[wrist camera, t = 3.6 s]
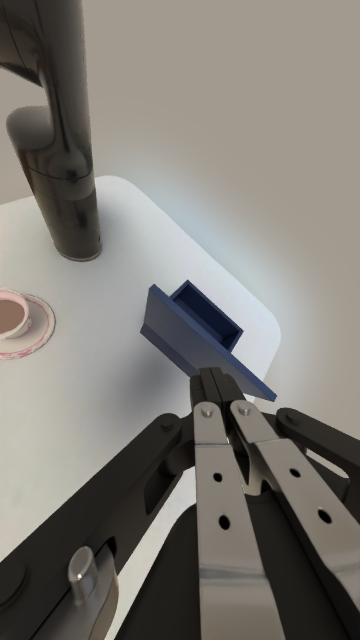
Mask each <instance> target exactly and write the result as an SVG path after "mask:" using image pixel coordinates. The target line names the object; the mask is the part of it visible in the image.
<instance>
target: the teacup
mask: <svg viewBox="0 0 360 640" xmlns="http://www.w3.org/2000/svg"><path fill="white" fill-rule="evenodd" d="M54 326H55V318H54V313H53V312H52V310H51V308H50V307H49V305H48V304H46V303H45V302H44V301H42V300H41V299H39V298H37V297H34V296H31V295H27V294H19V293H18V292H16V291H14V290H12V289H9V288H5V287H0V359H5V360H11V359H15V358H19V357H23V356H26V355H28V354H30V353H32V352H34V351H36V350H38V349H39V348H40V347H41V346H42V345H44V344H45V343H46V342H47V341H48V339H49V338H50V336H51V334H52V333H53V330H54Z"/></svg>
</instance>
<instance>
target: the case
mask: <svg viewBox="0 0 360 640" xmlns="http://www.w3.org/2000/svg"><path fill="white" fill-rule="evenodd" d="M169 298H170V299H171V300H173V301H174V302H175V303H176V304H177V305H178V306H179V307H180V308H181V309H182V310H184V311H185V312H186V313H187V314H188V315H189V316H190V317H191V318H192V319H194V320H195V321H196V322H197V323H198V324H199V325H200V326H201V327H202V328H203V329H205V330H206V331H207V332H208V333H209V334H210V335H211V336H212V337H213V338H214V339H216V340H217V341H218V342H219V343H220V344H221V345H222V346H223V347H224V348H225V349H227V350H228V351H229V352H230V353H231V352H232V350H233V348H234V347H235V345H236V343H237V342H238V340H239V338H240V337H241V335H242V333H243V330H242V329H241V328H240V327H239V326H238V325H237V324H236V323H235V322H233V321H232V320H231V319H230V318H229V317H228V316H227V315H226V314H225V313H224V312H222V311H221V310H220V309H219V308H218V307H217V306H216V305H215V304H214V303H213V302H212V301H210V300H209V299H208V298H207V297H206V296H205V295H204V294H203V293H202V292H201V291H200V290H198V289H197V288H196V287H195V286H194V285H193V284H192V283H191V282H190V281H189V280H187V281H186V282H185V283H184V284H183V285H182V286H180V287H179V288H178V289H177V290H176V291H175V292H174V293H173V294H172V295H171V296H170V297H169ZM140 333H141V334H142V335H143V336H145V337H146V338H147V339H148V340H149V341H150V342H151V343H152V344H153V345H155V346H156V347H157V348H158V349H159V350H160V351H161V352H162V353H163V354H165V355H166V356H167V357H168V358H169V359H170V360H171V361H172V362H173V363H175V364H176V365H177V366H178V367H179V368H180V369H181V370H182V371H183V372H185V373H186V374H187V375H188V376H189V377H190V378H191V376H192V375H198V370H197V369H195V368H194V367H193V366H192V365H191V364H190V363H189V362H188V361H187V360H186V359H184V358H183V357H182V356H181V355H180V354H179V353H178V352H177V351H176V350H174V349H173V348H172V347H171V346H170V345H169V344H168V343H167V342H166V341H164V340H163V339H162V338H161V337H160V336H159V335H158V334H157V333H156V332H154V331H153V330H152V329H151V328H150V327H149V326H148V325H147V324H146V323H144V324H143V326H142V329H141V331H140Z"/></svg>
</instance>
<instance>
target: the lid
mask: <svg viewBox="0 0 360 640" xmlns="http://www.w3.org/2000/svg"><path fill="white" fill-rule="evenodd" d="M144 323H146V324H147V325H148V326H149V327H150V328H151V329H152V330H153V331H154V332H156V333H157V334H158V335H159V336H160V337H161V338H162V339H163V340H164V341H166V342H167V343H168V344H169V345H170V346H171V347H172V348H173V349H174V350H176V351H177V352H178V353H179V354H180V355H181V356H182V357H183V358H184V359H186V360H187V361H188V362H189V363H190V364H191V365H192V366H193V367H194V368H195V369H197V370H198V369H199V368H206V367H220V368H221V370H222V372H223V374H229V375H231V376H232V377H233V378H234V379H235V381H236V383H237V385H238V387H239V388H240V390H241V391H242V393H245V394H248V395H251V396H255V397H258V398H262V399H265V400H269V401H272V402H274V401H275V399H276V397H277V395H276V394H275V393H274V392H273V391H272V390H271V389H269V388H268V387H267V386H266V385H265V384H264V383H263V382H262V381H261V380H260V379H258V378H257V377H256V376H255V375H254V374H253V373H252V372H251V371H250V370H249V369H247V368H246V367H245V366H244V365H243V364H242V363H241V362H240V361H239V360H238V359H236V358H235V357H234V356H233V355H232V354H231V353H230V352H229V351H228V350H227V349H225V348H224V347H223V346H222V345H221V344H220V343H219V342H218V341H217V340H216V339H214V338H213V337H212V336H211V335H210V334H209V333H208V332H207V331H206V330H205V329H203V328H202V327H201V326H200V325H199V324H198V323H197V322H196V321H195V320H194V319H192V318H191V317H190V316H189V315H188V314H187V313H186V312H185V311H184V310H182V309H181V308H180V307H179V306H178V305H177V304H176V303H175V302H174V301H173V300H171V299H170V298H169V297H168V296H167V295H166V294H165V293H164V292H163V291H162V290H160V289H159V288H158V287H157V286H156V285H155V284H153V285H152V286H151V287H150V288H149V292H148V298H147V305H146V311H145V317H144Z"/></svg>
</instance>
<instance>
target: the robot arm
mask: <svg viewBox="0 0 360 640" xmlns="http://www.w3.org/2000/svg"><path fill="white" fill-rule="evenodd" d="M85 51H86V50H85V33H84V19H83V9H82V0H0V68H2V69H4V70H6V71H8V72H10V73H13V74H15V75H17V76H19V77H21V78H23V79H25V80H27V81H30V82H31V83H34V84H36V85H38V86H40V87H42V88H44V89H45V92H46V96H47V101H48V106H26V107H21V108H18V109H16V110H14V111H12V112H11V113H10V114H9V115H8V117H7V119H6V129H7V133H8V136H9V138H10V140H11V143H12V145H13V148H14V150H15V152H16V154H17V157H18V159H19V162H20V164H21V166H22V168H23V171H24V173H25V176H26V178H27V180H28V182H29V185H30V187H31V189H32V192H33V194H34V196H35V199H36V201H37V203H38V206H39V208H40V210H41V213H42V215H43V217H44V220H45V222H46V224H47V227H48V229H49V231H50V234H51V236H52V239H53V241H54V245H55V247H56V249H57V251H58V252H59V253H60V254H61V255H62V256H64V257H66V258H68V259H70V260H74V261H88V260H92V259H94V258H95V257H97V256H98V255H99V254H100V252H101V249H102V243H101V237H100V227H99V218H98V208H97V199H96V189H95V180H94V171H93V160H92V150H91V149H92V148H91V128H90V116H89V104H88V90H87V71H86V52H85ZM190 400H191V409H192V412H191V413H190V414H189V415H188V416H186V417H183V418H181V419H180V418H179V417H178V416H177V415H175V414H171V413H166V414H162V415H160V416H158V417H157V418H156V419H155V420H154V421H153V422H152V423H150V424H149V425H148V426H147V427H146V428H145V429H144V430H143V431H142V432H141V433H140V434H139V435H138V436H136V437H135V438H134V439H133V440H132V441H131V442H130V443H129V444H128V445H127V446H126V447H125V448H123V449H122V450H121V451H120V452H119V453H118V454H117V455H116V456H115V457H114V458H113V459H112V460H110V461H109V462H108V463H107V464H106V465H105V466H104V467H103V468H102V469H101V470H100V471H99V472H97V473H96V474H95V475H94V476H93V477H92V478H91V479H90V480H89V481H88V482H87V483H86V484H85V485H83V486H82V487H81V488H80V489H79V490H78V491H77V492H76V493H75V494H74V495H73V496H72V497H70V498H69V499H68V500H67V501H66V502H65V503H64V504H63V505H62V506H61V507H60V508H59V509H57V510H56V511H55V512H54V513H53V514H52V515H51V516H50V517H49V518H48V519H47V520H46V521H44V522H43V523H42V524H41V525H40V526H39V527H38V528H37V529H36V530H35V531H34V532H33V533H32V534H30V535H29V536H28V537H27V538H26V539H25V540H24V541H23V542H22V543H21V544H20V545H19V546H17V547H16V548H15V549H14V550H13V551H12V552H11V553H10V554H9V555H8V556H7V557H6V558H5V559H4V560H3V561H1V562H0V640H104V639H105V637H106V635H107V632H108V630H109V628H110V626H111V624H112V621H113V618H114V615H115V612H116V608H117V603H118V595H119V585H118V579H117V576H118V575H119V573H120V571H121V570H122V568H123V567H124V565H125V564H126V562H127V561H128V559H129V557H130V556H131V554H132V553H133V551H134V550H135V548H136V547H137V545H138V544H139V542H140V540H141V539H142V537H143V536H144V534H145V533H146V531H147V530H148V528H149V527H150V525H151V523H152V522H153V520H154V519H155V517H156V516H157V514H158V513H159V511H160V509H161V508H162V506H163V505H164V503H165V502H166V500H167V499H168V497H169V496H170V494H171V492H172V491H173V489H174V488H175V486H176V485H177V483H178V482H179V480H180V478H181V477H182V475H183V471H185V470H187V469H189V468H191V467H193V466H195V475H196V503H195V504H193V505H192V506H190V507H189V508H188V509H186V510H185V511H184V512H183V513H182V514H181V515H180V517H179V518H178V519H177V521H176V522H175V524H174V525H173V527H172V528H171V530H170V532H169V534H168V536H167V538H166V540H165V542H164V544H163V546H162V548H161V549H160V551H159V553H158V555H157V557H156V559H155V561H154V563H153V565H152V567H151V569H150V571H149V573H148V575H147V577H146V579H145V581H144V582H143V584H142V586H141V588H140V590H139V592H138V594H137V596H136V598H135V600H134V602H133V604H132V606H131V608H130V610H129V611H128V613H127V615H126V617H125V619H124V621H123V623H122V625H121V627H120V629H119V631H118V633H117V635H116V637H115V639H114V640H360V440H358V439H355V438H353V437H351V436H349V435H347V434H345V433H343V432H341V431H339V430H337V429H335V428H332V427H330V426H328V425H326V424H324V423H322V422H320V421H318V420H316V419H314V418H311V417H309V416H308V415H306V414H303V413H301V412H299V411H297V410H295V409H291V408H280V409H278V410H277V413H276V415H272V414H268V413H263V412H260V411H259V410H258V408H257V407H256V406H255V405H254V404H252V403H251V402H249V401H247V400H246V398H245V397H244V395H243V393H242V391H241V390H240V388H239V387H238V385H237V383H236V381H235V379H234V378H233V377H232V376H231V375H229V374H223V372H222V370H221V368H220V367H206V368H199V369H198V375H192V376H191V378H190ZM227 437H228V439H229V444H228V441H227ZM307 448H308V449H310V450H311V451H313V452H315V453H316V454H318V455H320V456H321V457H323V458H325V459H326V460H328V461H330V462H331V463H333V464H335V465H336V466H338V467H339V468H341V469H342V470H343V471H344V472H346V474H347V475H348V476H349V478H343V477H341V476H339V475H337V474H336V473H334V472H333V471H331V470H330V469H328V468H326V467H325V466H323V465H321V464H320V463H318V462H317V461H315V460H314V459H312V458H310V457H309V456H307V455H306V452H307ZM242 485H243V487H242ZM243 488H244V490H245V493H244V491H243Z"/></svg>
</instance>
